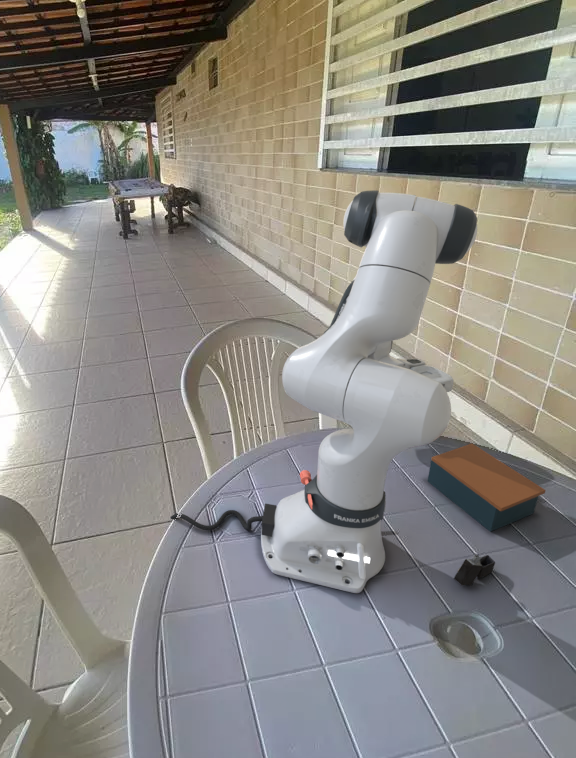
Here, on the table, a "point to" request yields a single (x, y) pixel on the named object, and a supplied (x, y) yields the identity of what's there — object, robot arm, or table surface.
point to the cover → (488, 476)
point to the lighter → (474, 569)
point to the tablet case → (477, 501)
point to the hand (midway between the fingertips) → (439, 404)
